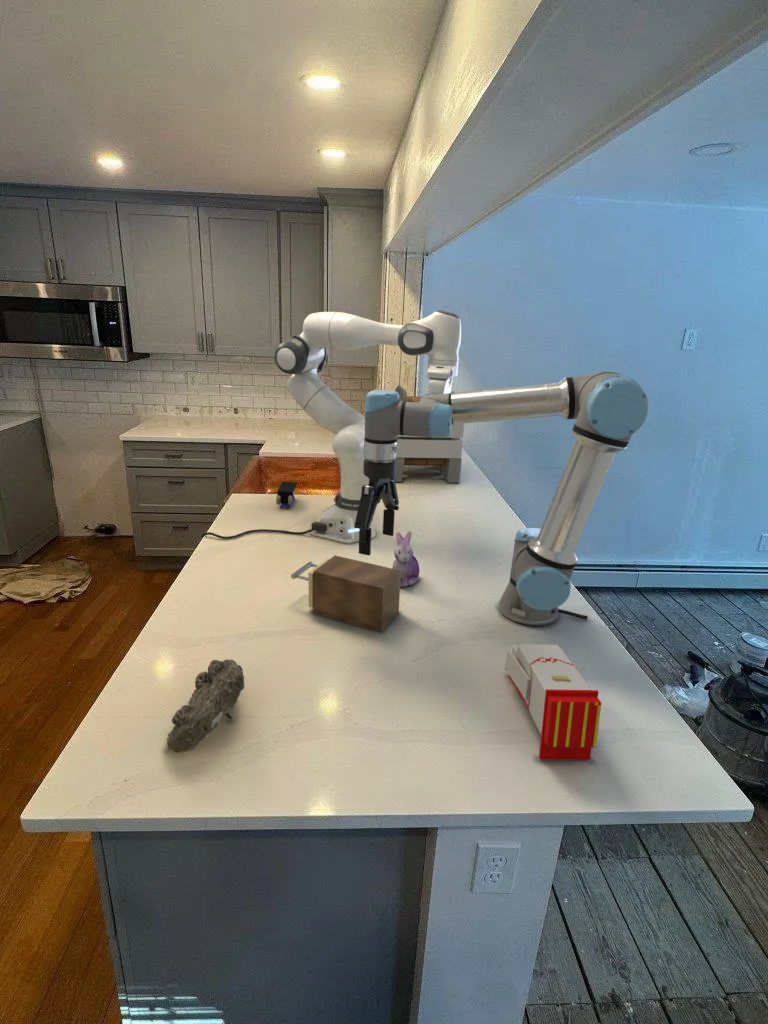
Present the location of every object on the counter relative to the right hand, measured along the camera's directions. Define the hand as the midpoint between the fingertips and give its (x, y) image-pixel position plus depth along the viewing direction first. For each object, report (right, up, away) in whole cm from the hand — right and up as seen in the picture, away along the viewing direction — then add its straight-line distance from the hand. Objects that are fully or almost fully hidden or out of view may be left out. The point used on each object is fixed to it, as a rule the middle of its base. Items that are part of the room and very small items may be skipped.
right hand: (376, 544), depth 138 cm
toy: (+34, -32, -24) cm, 52 cm away
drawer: (-10, -17, +11) cm, 22 cm away
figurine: (+8, -12, +28) cm, 32 cm away
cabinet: (-5, -18, +10) cm, 22 cm away
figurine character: (-37, +11, +86) cm, 94 cm away
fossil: (-31, -31, -30) cm, 53 cm away
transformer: (+19, +27, +137) cm, 141 cm away
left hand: (+18, +37, +33) cm, 53 cm away
